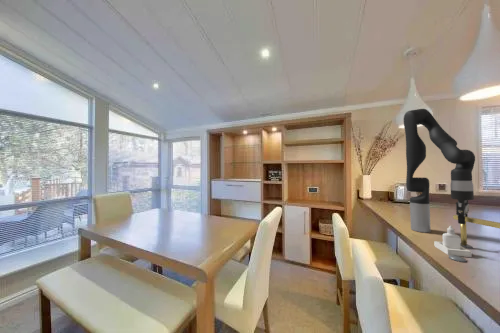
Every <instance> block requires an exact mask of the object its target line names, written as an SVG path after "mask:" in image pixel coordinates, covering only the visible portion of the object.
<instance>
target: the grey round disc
mask: <svg viewBox="0 0 500 333" xmlns="http://www.w3.org/2000/svg"><path fill="white" fill-rule="evenodd" d="M448 259H450V260H452V261H454V260H455V262H458V261H459V263H467V259H466V257H465V258H464V257H463V256H455V255H448Z"/></svg>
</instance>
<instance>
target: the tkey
mask: <svg viewBox="0 0 500 333" xmlns="http://www.w3.org/2000/svg"><path fill="white" fill-rule="evenodd" d="M452 218H453V220H456V221H458V216H457V214H454V215H452ZM467 223H471V224H476V225H480V226H485V227H491V228H496V229H500V222H498V221H494V220H487V219H482V218H477V217H476V218H475V217H471V216H468V217H466V216H465V224H459V227H460V228H459V230H460V231H459V232H460V243H461V244H462V245H467V244H468V236H467V235H468V234H467Z"/></svg>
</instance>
